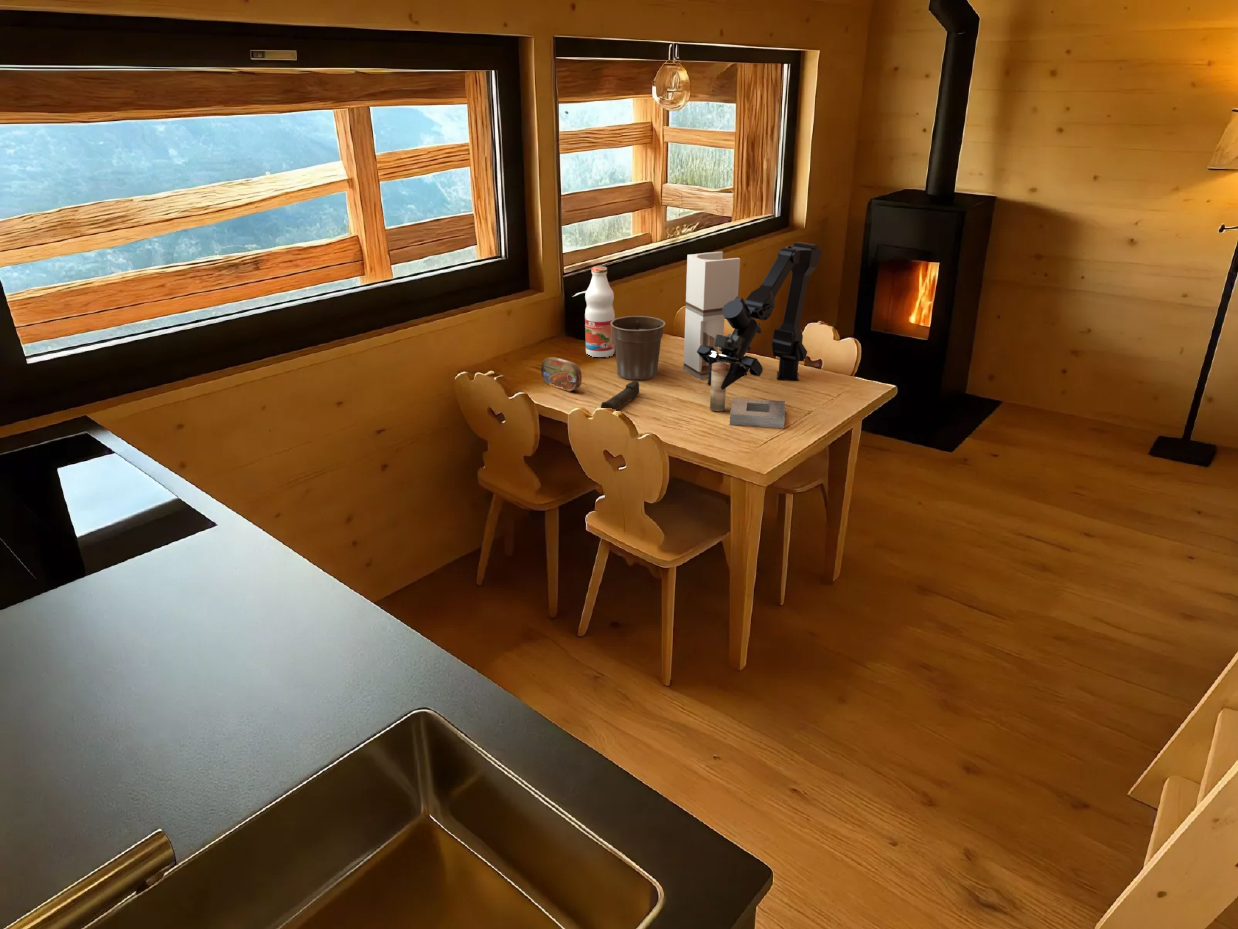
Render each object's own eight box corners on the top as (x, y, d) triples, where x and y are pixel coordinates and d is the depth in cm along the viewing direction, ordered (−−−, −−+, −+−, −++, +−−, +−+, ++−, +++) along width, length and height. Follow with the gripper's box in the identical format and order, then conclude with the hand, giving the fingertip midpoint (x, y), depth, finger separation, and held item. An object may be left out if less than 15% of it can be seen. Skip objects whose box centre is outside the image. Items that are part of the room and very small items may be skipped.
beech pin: (710, 405, 232) (712, 362, 227) (725, 406, 232) (727, 362, 226) (709, 410, 229) (711, 366, 223) (724, 411, 228) (726, 367, 223)
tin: (540, 382, 250) (539, 355, 247) (548, 379, 252) (547, 352, 249) (576, 394, 241) (575, 366, 237) (583, 392, 243) (583, 364, 240)
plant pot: (630, 362, 267) (630, 312, 260) (674, 371, 259) (675, 320, 252) (600, 376, 255) (599, 324, 248) (645, 387, 247) (645, 333, 240)
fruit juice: (620, 353, 275) (620, 267, 263) (602, 360, 268) (601, 272, 256) (598, 347, 280) (597, 263, 268) (579, 354, 274) (577, 268, 262)
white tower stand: (700, 379, 252) (705, 261, 237) (683, 368, 261) (687, 254, 246) (733, 374, 257) (740, 258, 241) (715, 363, 265) (721, 251, 250)
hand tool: (612, 417, 226) (613, 401, 224) (600, 414, 228) (600, 398, 226) (647, 396, 241) (647, 380, 239) (634, 393, 243) (635, 378, 241)
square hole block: (732, 407, 232) (732, 397, 230) (783, 411, 229) (784, 401, 228) (729, 424, 221) (730, 414, 220) (783, 428, 219) (784, 417, 217)
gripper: (702, 315, 229) (675, 364, 226) (759, 328, 217) (732, 380, 215) (718, 337, 237) (692, 384, 235) (774, 351, 226) (748, 400, 223)
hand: (715, 387), depth 227 cm, fingers closed on beech pin, 4 cm apart
